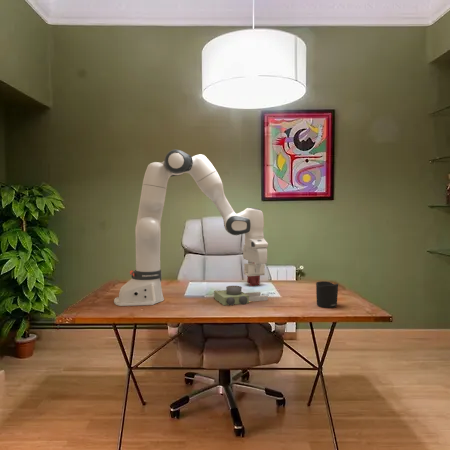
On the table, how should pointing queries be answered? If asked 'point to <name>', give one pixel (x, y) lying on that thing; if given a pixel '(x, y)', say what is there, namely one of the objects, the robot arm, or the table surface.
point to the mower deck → (237, 296)
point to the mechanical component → (253, 280)
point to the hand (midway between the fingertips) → (254, 271)
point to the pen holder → (326, 294)
